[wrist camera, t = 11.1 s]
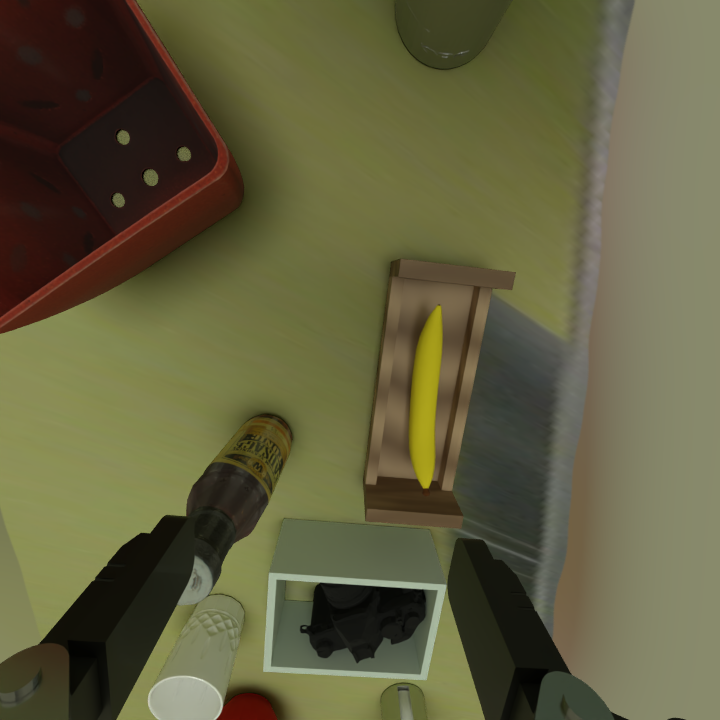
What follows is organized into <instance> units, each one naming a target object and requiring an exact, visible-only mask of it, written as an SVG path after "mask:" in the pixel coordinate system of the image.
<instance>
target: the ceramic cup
mask: <svg viewBox="0 0 720 720" xmlns="http://www.w3.org/2000/svg"><path fill="white" fill-rule="evenodd" d="M216 720H278V719H277V717H276V715H275V713H274V711H273V709H272V706H271V704H270V702H269V701H268V700H267V699H266V698H264V697H263V696H260V695H258V694H254V693H244V694H240V695H237V696H235V697H233V698H232V699H231V700H230V701H229V702H228V703H227V704H226V705H225V706H223V708H222V711H221V714H220V715H219V717H218V718H217V719H216Z"/></svg>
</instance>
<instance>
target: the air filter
mask: <svg viewBox="0 0 720 720" xmlns="http://www.w3.org/2000/svg"><path fill="white" fill-rule="evenodd" d="M381 712H382V720H428V717H427V712H426V706H425V700H424V695H423V693H422V691H421V690H420V689H419V688H418V687H416V686H414V685H412V684H408V683H401V684H396V685H393V686H391V687H389V688H387V689H386V690H385V691H384V693H383V694H382V696H381Z"/></svg>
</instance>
